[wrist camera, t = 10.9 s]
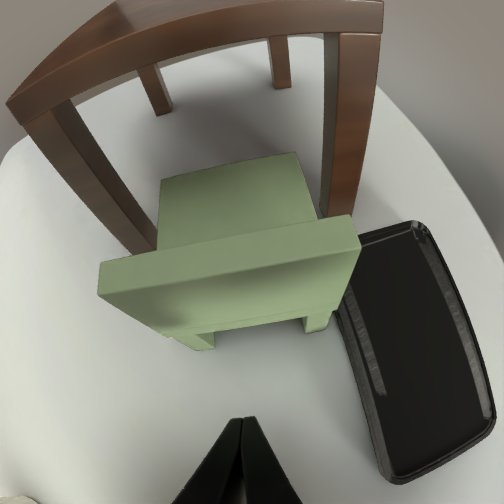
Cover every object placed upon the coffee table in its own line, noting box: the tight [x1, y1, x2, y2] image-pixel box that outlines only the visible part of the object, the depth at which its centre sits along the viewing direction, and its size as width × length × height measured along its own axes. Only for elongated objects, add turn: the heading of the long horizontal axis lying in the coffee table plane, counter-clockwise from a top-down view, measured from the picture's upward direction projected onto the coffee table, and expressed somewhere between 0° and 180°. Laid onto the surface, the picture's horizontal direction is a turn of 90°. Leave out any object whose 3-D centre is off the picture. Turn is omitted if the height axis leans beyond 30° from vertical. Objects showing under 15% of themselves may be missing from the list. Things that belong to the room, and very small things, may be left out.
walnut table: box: [6, 0, 384, 255], centre depth 18 cm, size 20×15×14 cm
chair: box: [97, 152, 361, 351], centre depth 14 cm, size 9×8×10 cm
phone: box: [334, 220, 497, 485], centre depth 14 cm, size 8×1×15 cm
